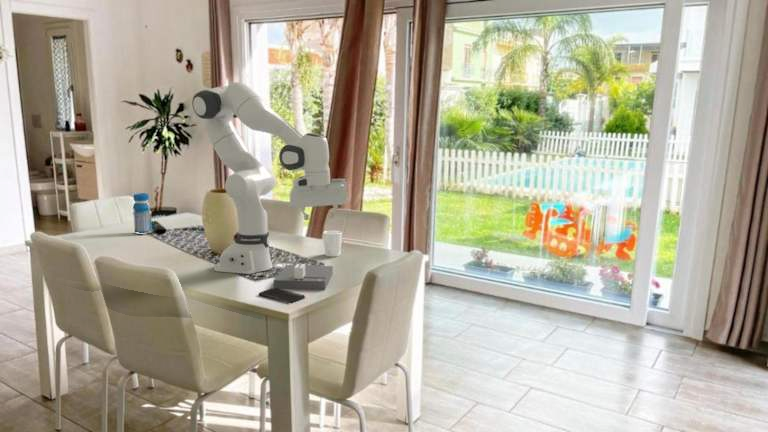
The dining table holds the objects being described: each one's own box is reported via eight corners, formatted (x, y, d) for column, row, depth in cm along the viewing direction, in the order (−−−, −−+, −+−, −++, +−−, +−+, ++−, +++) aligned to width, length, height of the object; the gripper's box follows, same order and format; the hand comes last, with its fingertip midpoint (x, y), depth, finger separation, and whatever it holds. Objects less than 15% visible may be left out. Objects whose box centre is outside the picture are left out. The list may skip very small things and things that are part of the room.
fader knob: (294, 278, 202) (294, 267, 201) (297, 274, 207) (297, 263, 206) (302, 278, 202) (302, 267, 201) (305, 274, 206) (305, 263, 206)
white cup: (339, 257, 244) (338, 234, 242) (321, 256, 246) (321, 233, 244) (344, 253, 252) (343, 230, 250) (326, 252, 253) (326, 230, 251)
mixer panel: (273, 288, 201) (273, 279, 201) (286, 272, 221) (286, 264, 220) (325, 289, 200) (324, 281, 200) (332, 273, 220) (332, 265, 219)
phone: (273, 287, 200) (306, 295, 191) (273, 290, 200) (306, 298, 192) (256, 293, 193) (289, 301, 185) (257, 296, 193) (289, 305, 185)
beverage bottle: (141, 236, 282) (138, 195, 278) (130, 234, 286) (128, 194, 283) (156, 233, 289) (153, 193, 285) (145, 231, 293) (143, 192, 290)
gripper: (344, 177, 208) (346, 215, 210) (287, 180, 202) (290, 219, 204) (348, 178, 202) (350, 217, 204) (290, 182, 196) (292, 222, 198)
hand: (319, 218), depth 204 cm, fingers open, 8 cm apart
